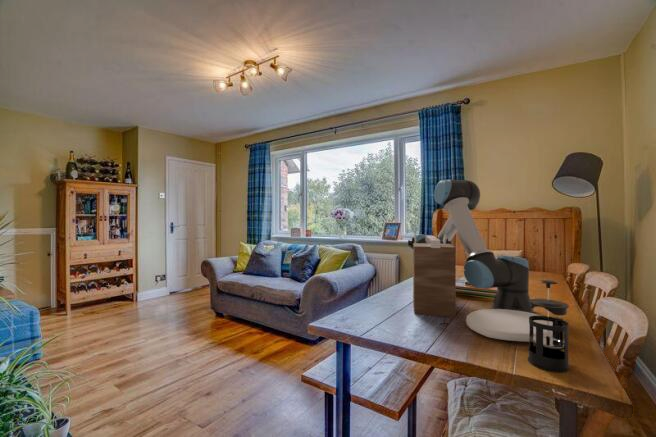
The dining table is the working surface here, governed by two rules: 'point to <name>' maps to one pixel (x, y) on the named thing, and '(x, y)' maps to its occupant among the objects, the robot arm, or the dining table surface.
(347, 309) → the dining table surface
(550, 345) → the french press
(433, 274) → the walnut stand
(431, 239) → the metal bar
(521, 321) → the plate
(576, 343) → the dining table surface
